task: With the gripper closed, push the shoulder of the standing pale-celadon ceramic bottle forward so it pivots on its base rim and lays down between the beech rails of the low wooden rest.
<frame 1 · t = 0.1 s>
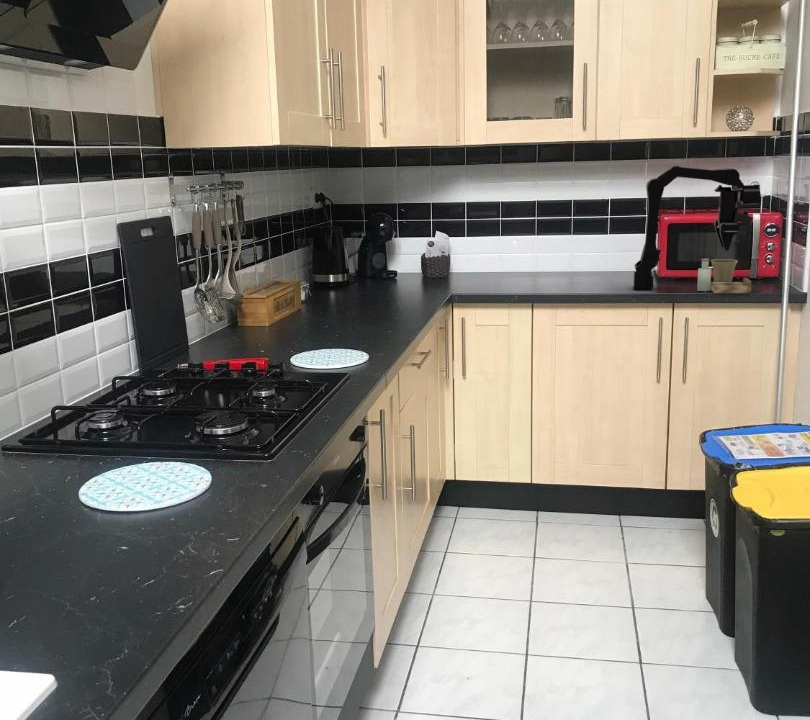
hand: (725, 248, 299), 15 cm above the worktop, fingers open, 9 cm apart
flower pot: (722, 284, 314), on the worktop
bottle: (703, 290, 300), on the worktop
cradle: (728, 290, 299), on the worktop
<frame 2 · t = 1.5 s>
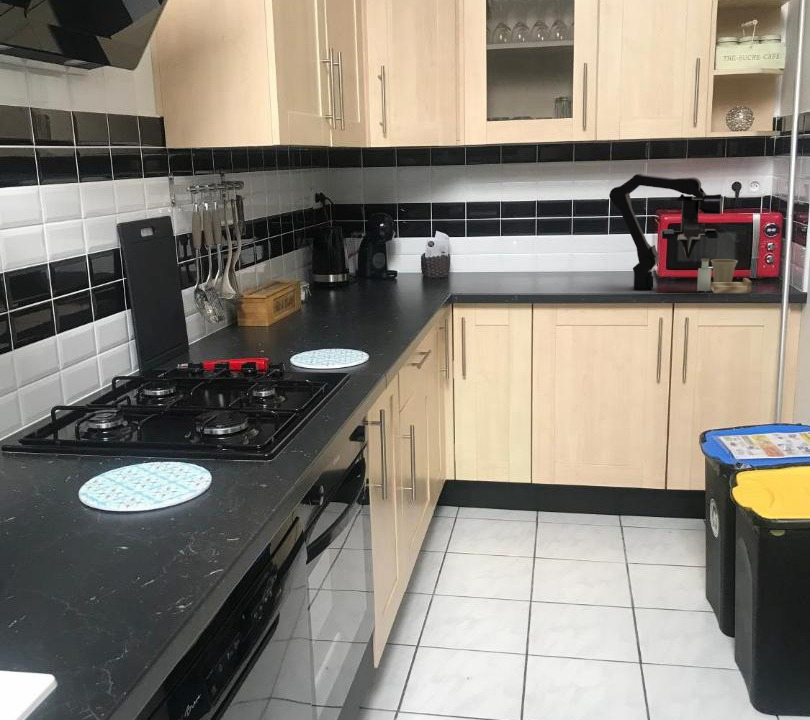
hand: (687, 258, 299), 12 cm above the worktop, fingers closed
nothing on the worktop moved.
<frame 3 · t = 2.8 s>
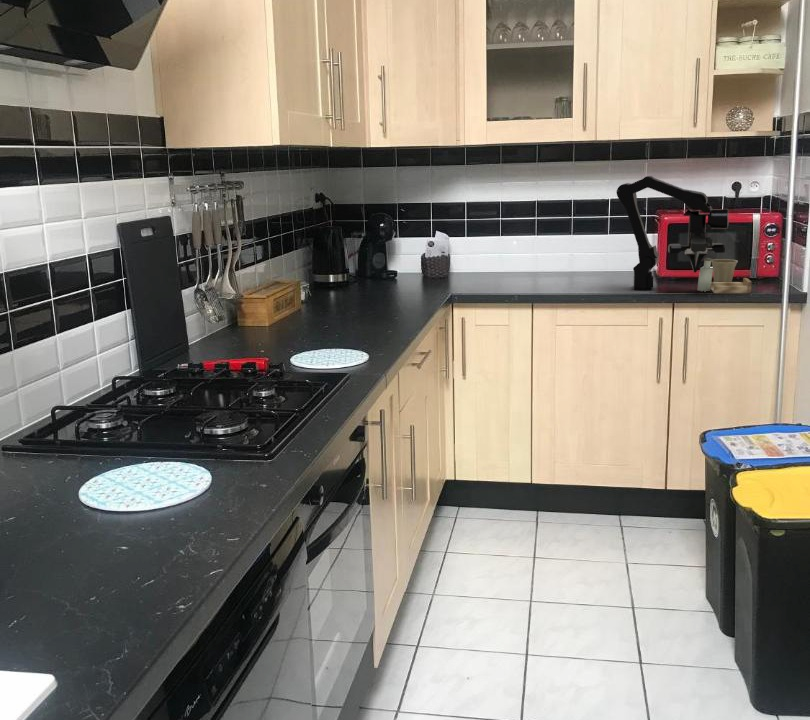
hand: (695, 272, 299), 7 cm above the worktop, fingers closed
nothing on the worktop moved.
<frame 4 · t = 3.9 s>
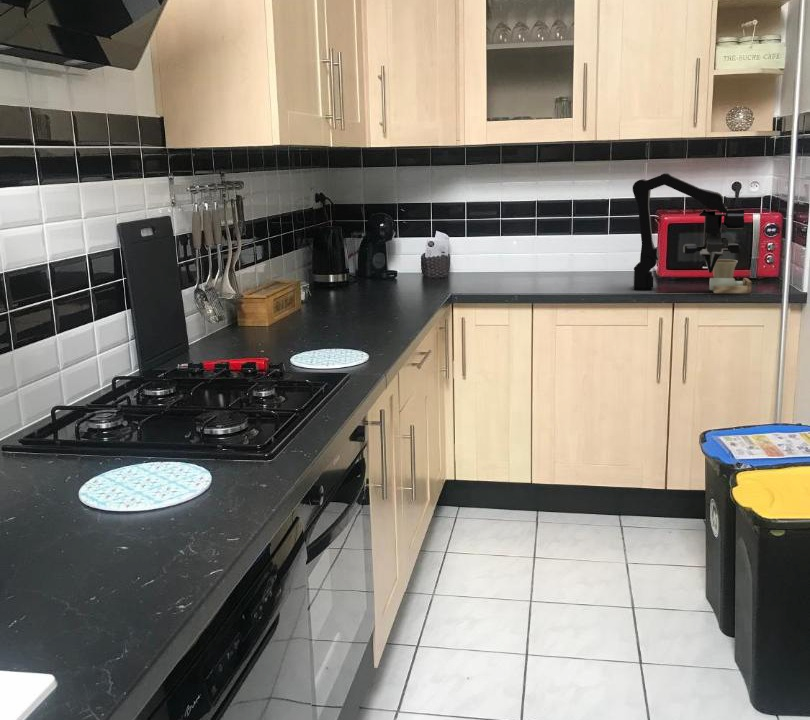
hand: (710, 272, 298), 7 cm above the worktop, fingers closed
bottle: (710, 284, 299), point 2 cm above the worktop, tilted 90°, touching cradle
everything else where it was.
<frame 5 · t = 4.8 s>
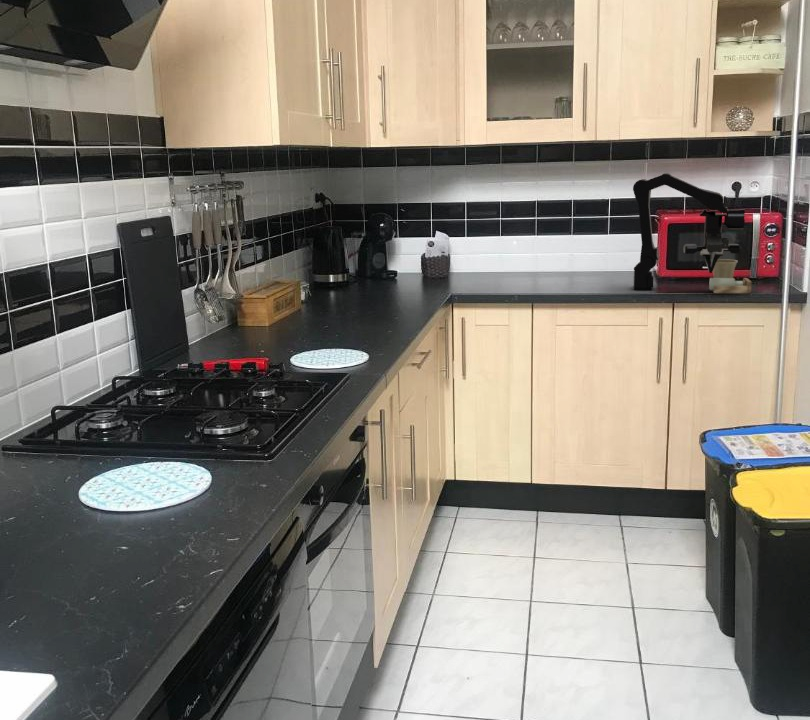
hand: (710, 272, 298), 6 cm above the worktop, fingers closed
nothing on the worktop moved.
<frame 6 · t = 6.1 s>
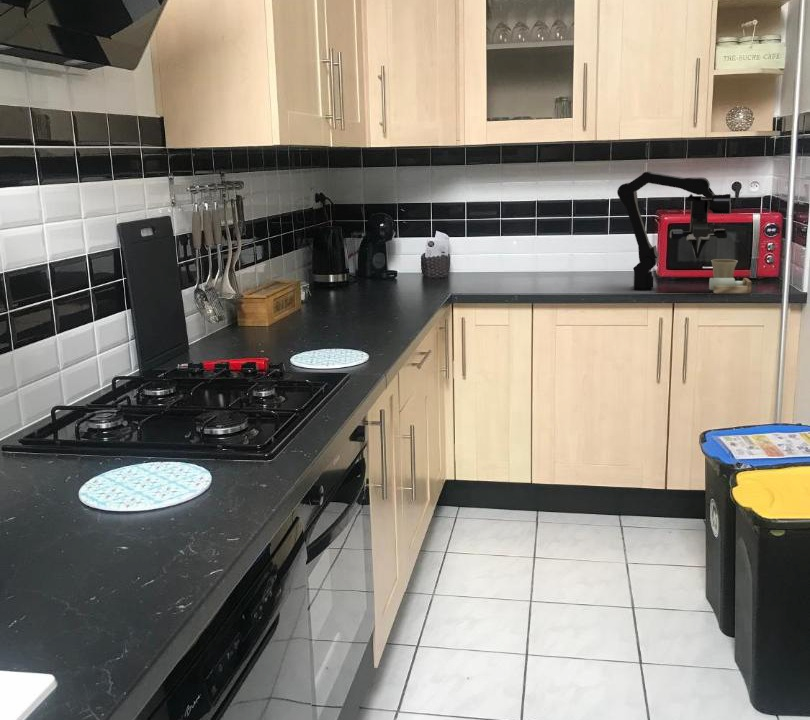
hand: (696, 258, 298), 12 cm above the worktop, fingers closed
nothing on the worktop moved.
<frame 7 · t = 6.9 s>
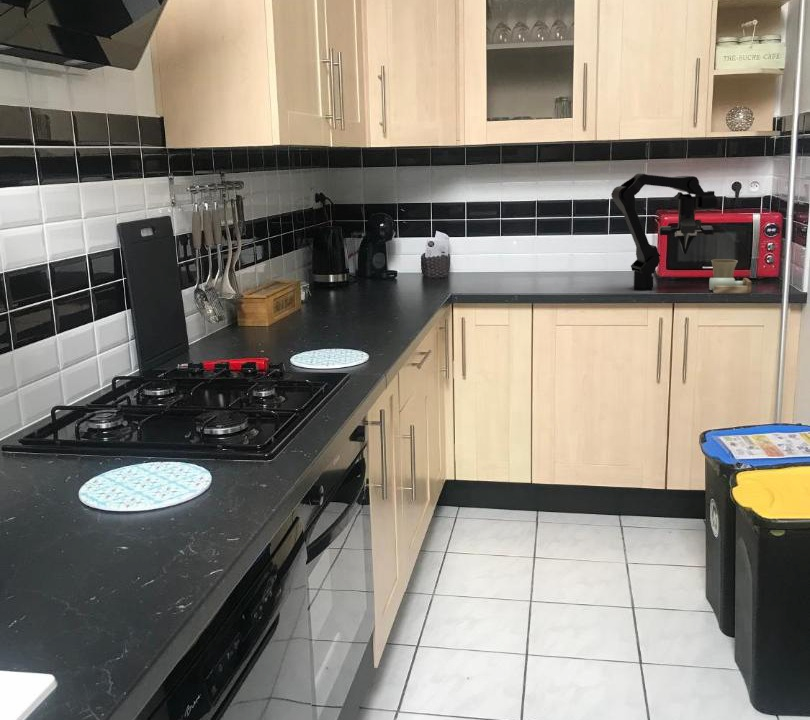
hand: (684, 254, 308), 12 cm above the worktop, fingers closed
nothing on the worktop moved.
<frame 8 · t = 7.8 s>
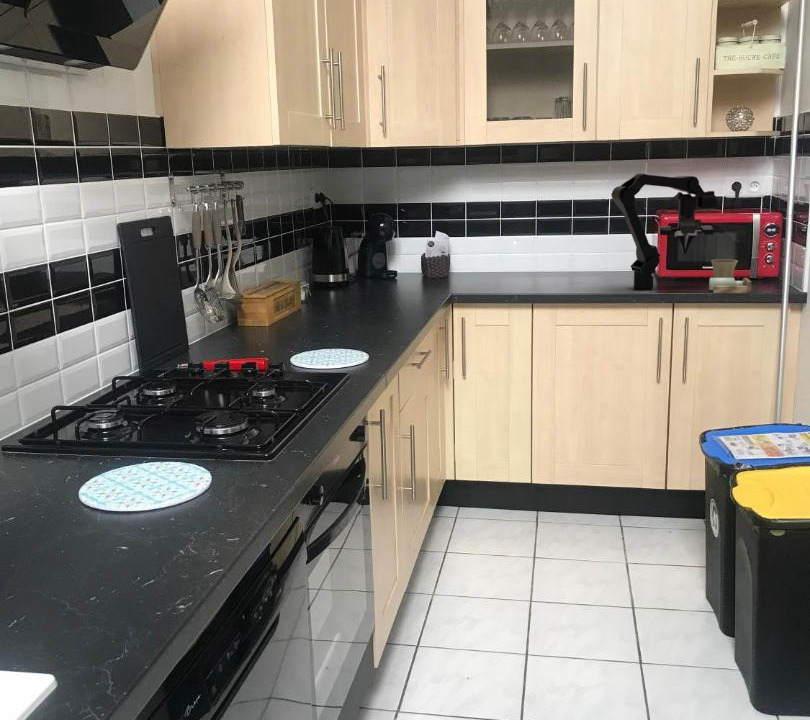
hand: (684, 253, 308), 12 cm above the worktop, fingers closed
nothing on the worktop moved.
at the end: bottle tilted 90°; bottle inside the target area (1.5 cm from its centre), point 2.5 cm above the worktop; bottle touching cradle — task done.
